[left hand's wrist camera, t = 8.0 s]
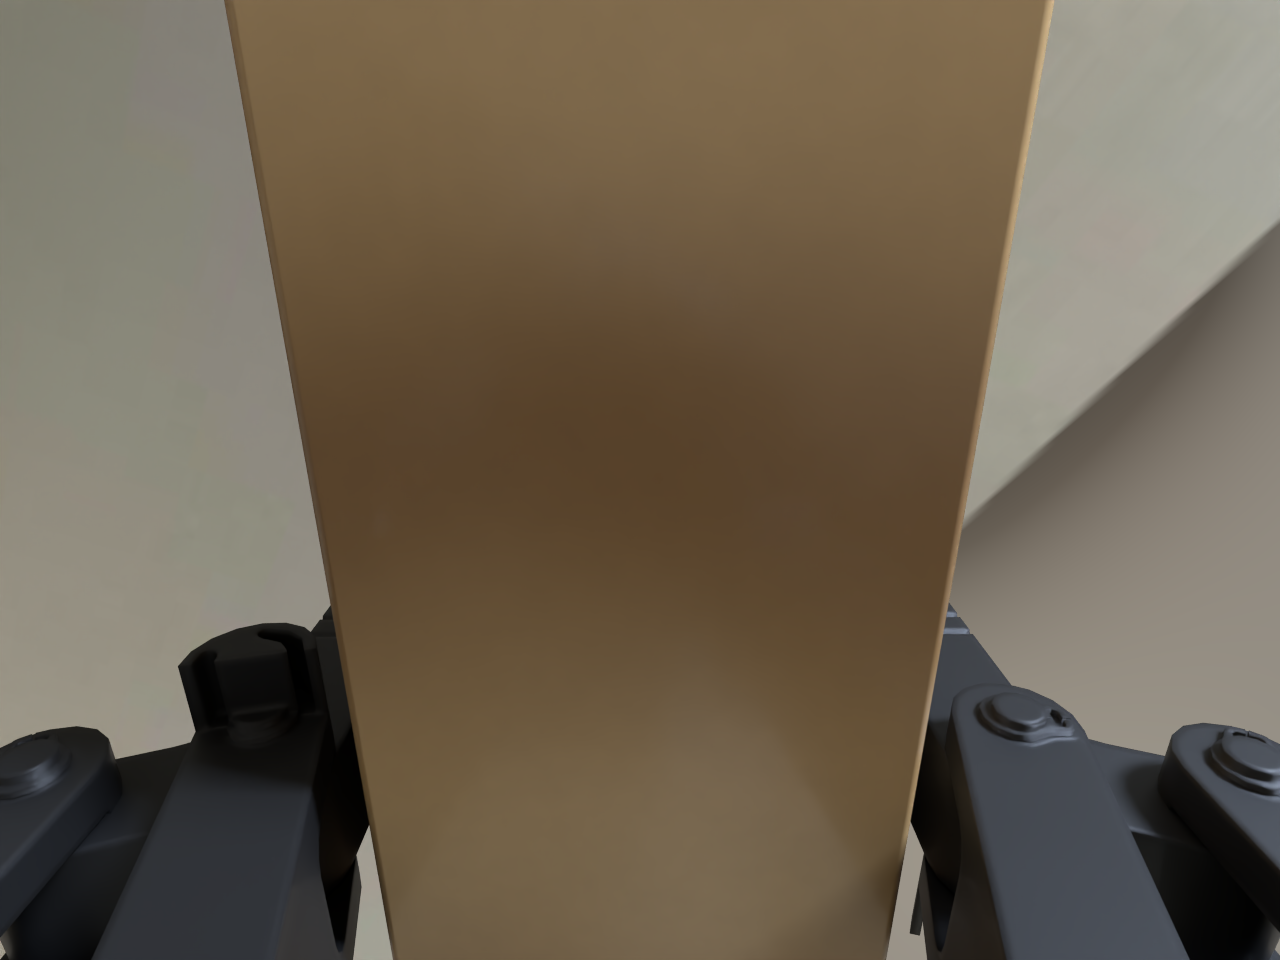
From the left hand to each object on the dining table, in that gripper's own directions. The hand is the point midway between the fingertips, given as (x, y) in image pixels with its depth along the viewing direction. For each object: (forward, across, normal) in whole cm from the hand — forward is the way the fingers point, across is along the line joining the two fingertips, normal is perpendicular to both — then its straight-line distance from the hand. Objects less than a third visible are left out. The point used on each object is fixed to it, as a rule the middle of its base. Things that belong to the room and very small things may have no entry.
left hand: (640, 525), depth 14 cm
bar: (+1, 0, -8) cm, 8 cm away
